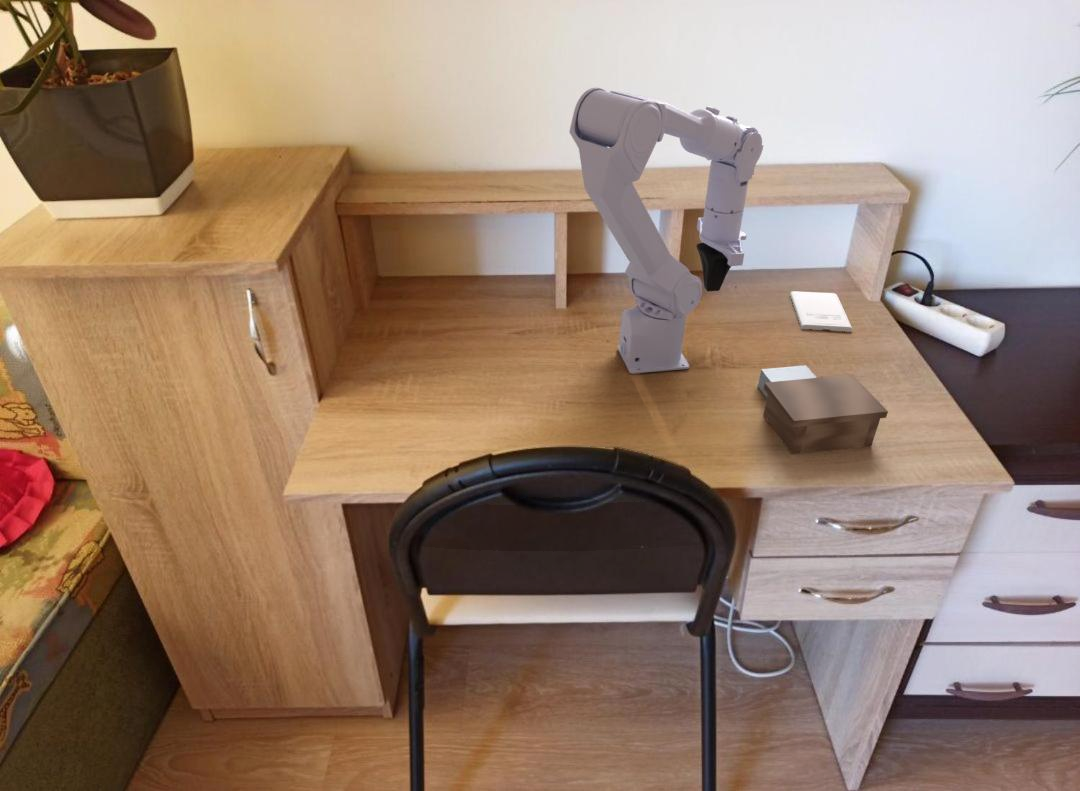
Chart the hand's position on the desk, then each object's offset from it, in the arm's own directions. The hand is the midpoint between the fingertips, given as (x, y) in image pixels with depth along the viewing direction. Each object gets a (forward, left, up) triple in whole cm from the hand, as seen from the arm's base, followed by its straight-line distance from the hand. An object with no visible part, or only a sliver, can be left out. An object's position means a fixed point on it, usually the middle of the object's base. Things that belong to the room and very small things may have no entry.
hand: (711, 289), depth 120 cm
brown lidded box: (+6, -27, -8) cm, 29 cm away
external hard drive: (+23, +4, -9) cm, 25 cm away
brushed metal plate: (+6, -23, -8) cm, 25 cm away
